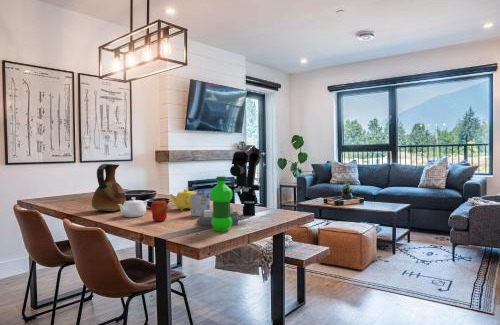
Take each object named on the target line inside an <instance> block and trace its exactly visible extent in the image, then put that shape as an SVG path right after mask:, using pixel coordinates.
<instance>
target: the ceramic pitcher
mask: <svg viewBox="0 0 500 325" xmlns="http://www.w3.org/2000/svg"><path fill="white" fill-rule="evenodd" d="M119 166H120V164H116V163H114V164H113V163H102V164H101V165H99V166H98V168H97V170H96V178H97V183H98V186H97V188H96V189H95V191H94V194H93V196H92V199H91V207H92V208H93V209H94V210H98V211H104V212H116V211H118V210H120V206H119V205H117V204H122V206H123V204H124V202H125V201H127V197H126V193H125V191H124V188H122V186H121V184H119V183H118V182H117V180H116V170H117V169H118V168H119ZM104 174H105V176H104Z"/></svg>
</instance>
